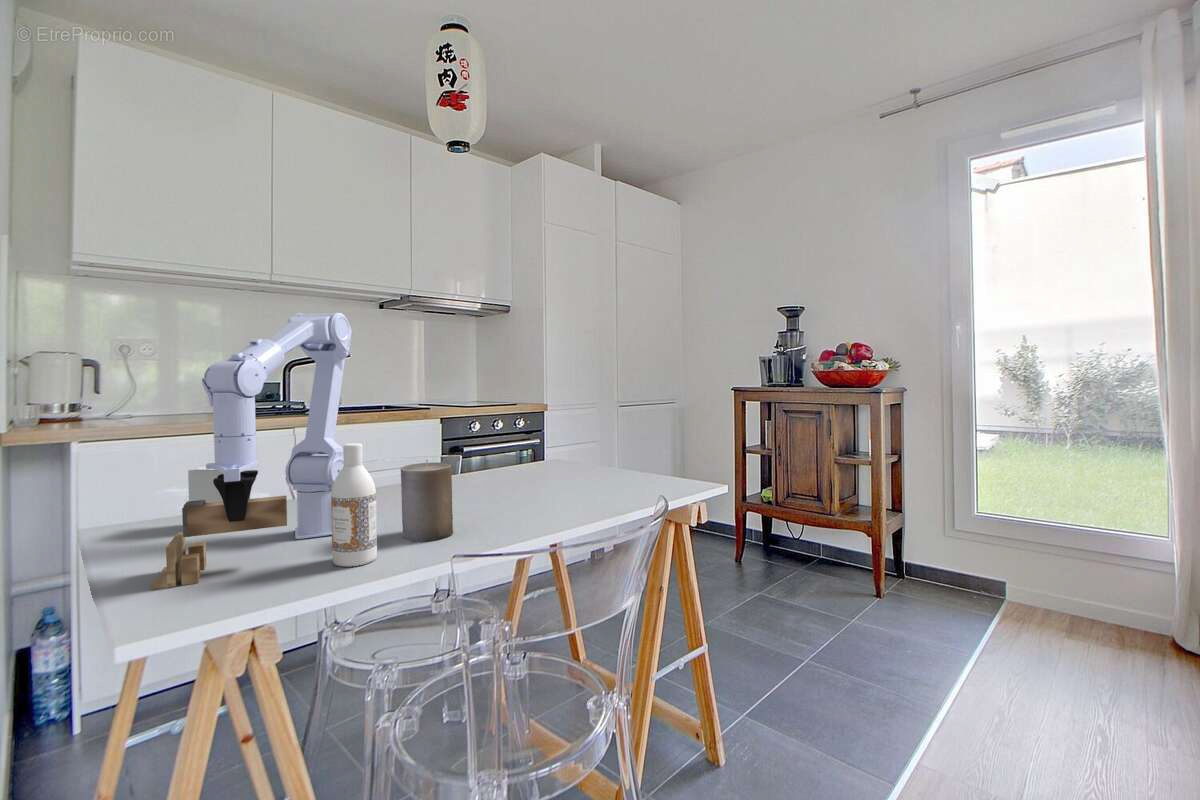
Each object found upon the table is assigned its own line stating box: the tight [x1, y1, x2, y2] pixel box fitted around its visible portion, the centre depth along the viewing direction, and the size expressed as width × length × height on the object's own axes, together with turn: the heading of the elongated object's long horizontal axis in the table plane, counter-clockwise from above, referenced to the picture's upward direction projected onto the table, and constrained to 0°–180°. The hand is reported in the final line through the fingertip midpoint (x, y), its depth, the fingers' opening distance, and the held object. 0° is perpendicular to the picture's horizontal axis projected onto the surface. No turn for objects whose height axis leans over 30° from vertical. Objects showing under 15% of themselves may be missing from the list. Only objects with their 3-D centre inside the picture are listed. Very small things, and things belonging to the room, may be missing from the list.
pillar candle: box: [399, 459, 454, 542], centre depth 110 cm, size 10×10×15 cm
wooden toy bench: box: [150, 531, 207, 591], centre depth 87 cm, size 6×9×6 cm, turn 29°
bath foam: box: [331, 442, 378, 568], centre depth 94 cm, size 7×7×20 cm
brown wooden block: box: [181, 495, 288, 538], centre depth 91 cm, size 14×3×5 cm, turn 119°
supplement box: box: [187, 465, 224, 503], centre depth 116 cm, size 7×7×13 cm
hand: (237, 518), depth 91 cm, fingers closed on brown wooden block, 3 cm apart
